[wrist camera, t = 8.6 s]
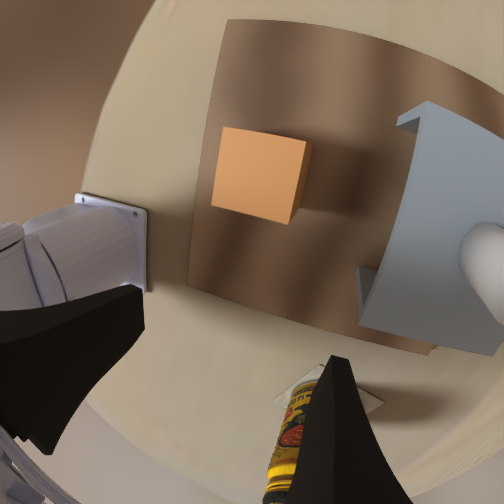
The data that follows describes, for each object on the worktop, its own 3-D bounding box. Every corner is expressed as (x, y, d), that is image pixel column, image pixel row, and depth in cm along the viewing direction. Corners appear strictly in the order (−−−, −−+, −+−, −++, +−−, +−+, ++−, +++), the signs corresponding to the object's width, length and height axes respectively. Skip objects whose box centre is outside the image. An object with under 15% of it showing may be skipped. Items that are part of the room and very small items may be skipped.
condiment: (318, 362, 21) (288, 493, 11) (385, 401, 21) (381, 514, 10) (272, 399, 25) (231, 502, 14) (334, 431, 24) (315, 527, 13)
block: (238, 192, 17) (211, 205, 14) (248, 131, 16) (223, 126, 12) (299, 208, 17) (288, 224, 13) (313, 144, 15) (306, 141, 11)
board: (191, 280, 22) (187, 285, 21) (231, 23, 14) (227, 19, 13) (425, 349, 18) (427, 355, 17) (508, 102, 10) (513, 101, 9)
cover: (355, 273, 17) (359, 379, 8) (398, 116, 12) (462, 81, 4) (464, 306, 15) (511, 400, 7) (512, 171, 11) (605, 201, 3)
